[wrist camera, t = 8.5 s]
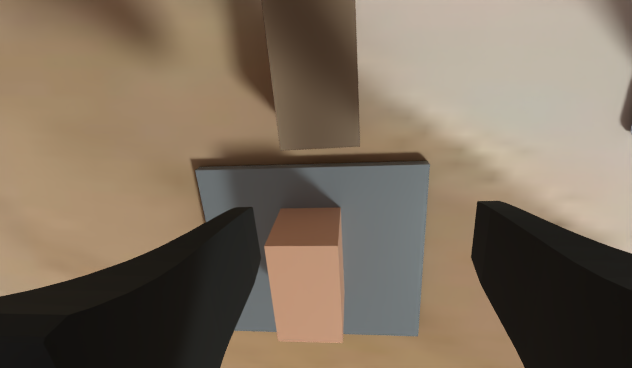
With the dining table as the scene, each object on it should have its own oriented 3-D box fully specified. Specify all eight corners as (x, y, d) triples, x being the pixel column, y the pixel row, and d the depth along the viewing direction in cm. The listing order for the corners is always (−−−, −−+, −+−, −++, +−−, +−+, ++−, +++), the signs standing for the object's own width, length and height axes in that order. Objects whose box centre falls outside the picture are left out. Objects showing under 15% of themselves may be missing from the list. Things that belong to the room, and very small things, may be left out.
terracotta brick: (340, 207, 19) (337, 245, 16) (344, 291, 22) (343, 342, 18) (280, 208, 20) (264, 246, 16) (290, 291, 22) (278, 341, 18)
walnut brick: (354, 0, 16) (354, -13, 12) (358, 125, 18) (360, 146, 14) (281, 7, 16) (261, -3, 13) (294, 129, 19) (280, 150, 15)
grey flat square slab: (427, 160, 18) (429, 164, 18) (416, 329, 23) (417, 336, 22) (199, 167, 20) (195, 170, 19) (231, 323, 24) (228, 330, 24)
